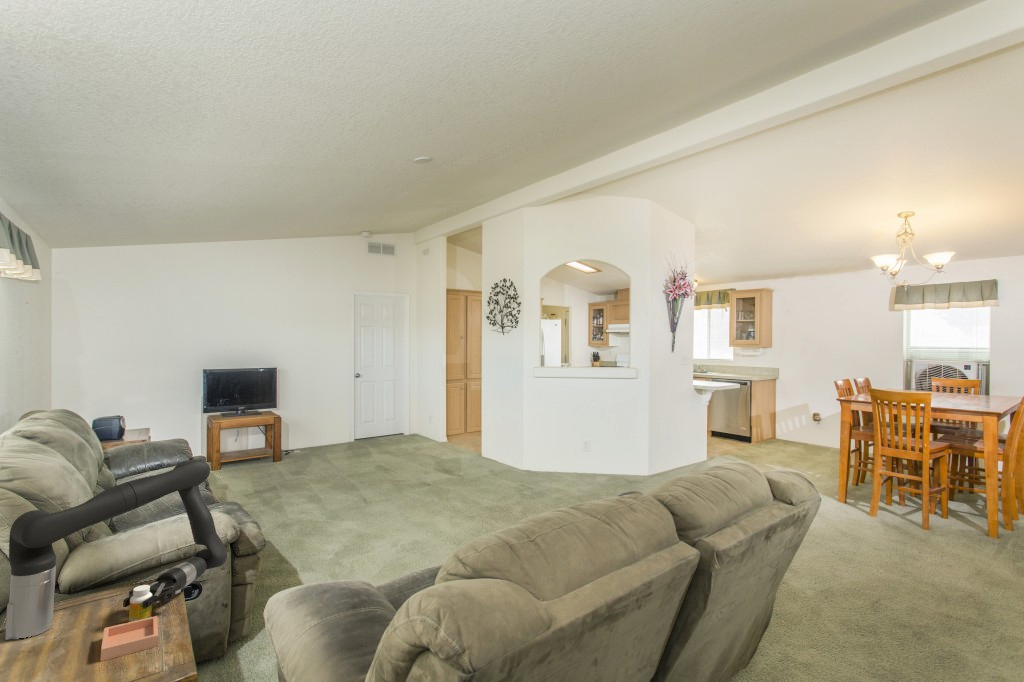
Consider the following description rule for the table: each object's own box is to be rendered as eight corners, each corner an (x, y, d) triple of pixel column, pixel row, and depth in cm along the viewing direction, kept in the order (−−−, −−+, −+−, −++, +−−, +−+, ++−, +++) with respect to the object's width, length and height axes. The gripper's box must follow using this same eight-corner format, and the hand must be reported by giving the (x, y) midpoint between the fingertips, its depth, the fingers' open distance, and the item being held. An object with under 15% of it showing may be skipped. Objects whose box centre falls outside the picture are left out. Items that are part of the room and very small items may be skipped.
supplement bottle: (139, 626, 144) (140, 593, 144) (123, 624, 145) (125, 590, 145) (155, 617, 149) (157, 584, 149) (141, 615, 150) (142, 582, 150)
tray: (100, 661, 127) (101, 649, 128) (103, 639, 137) (104, 628, 137) (157, 646, 135) (158, 635, 135) (156, 626, 144) (157, 615, 144)
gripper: (156, 565, 162) (111, 590, 145) (198, 568, 161) (158, 593, 144) (155, 588, 161) (109, 616, 145) (197, 591, 161) (156, 619, 144)
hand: (134, 604), depth 144 cm, fingers closed on supplement bottle, 5 cm apart
